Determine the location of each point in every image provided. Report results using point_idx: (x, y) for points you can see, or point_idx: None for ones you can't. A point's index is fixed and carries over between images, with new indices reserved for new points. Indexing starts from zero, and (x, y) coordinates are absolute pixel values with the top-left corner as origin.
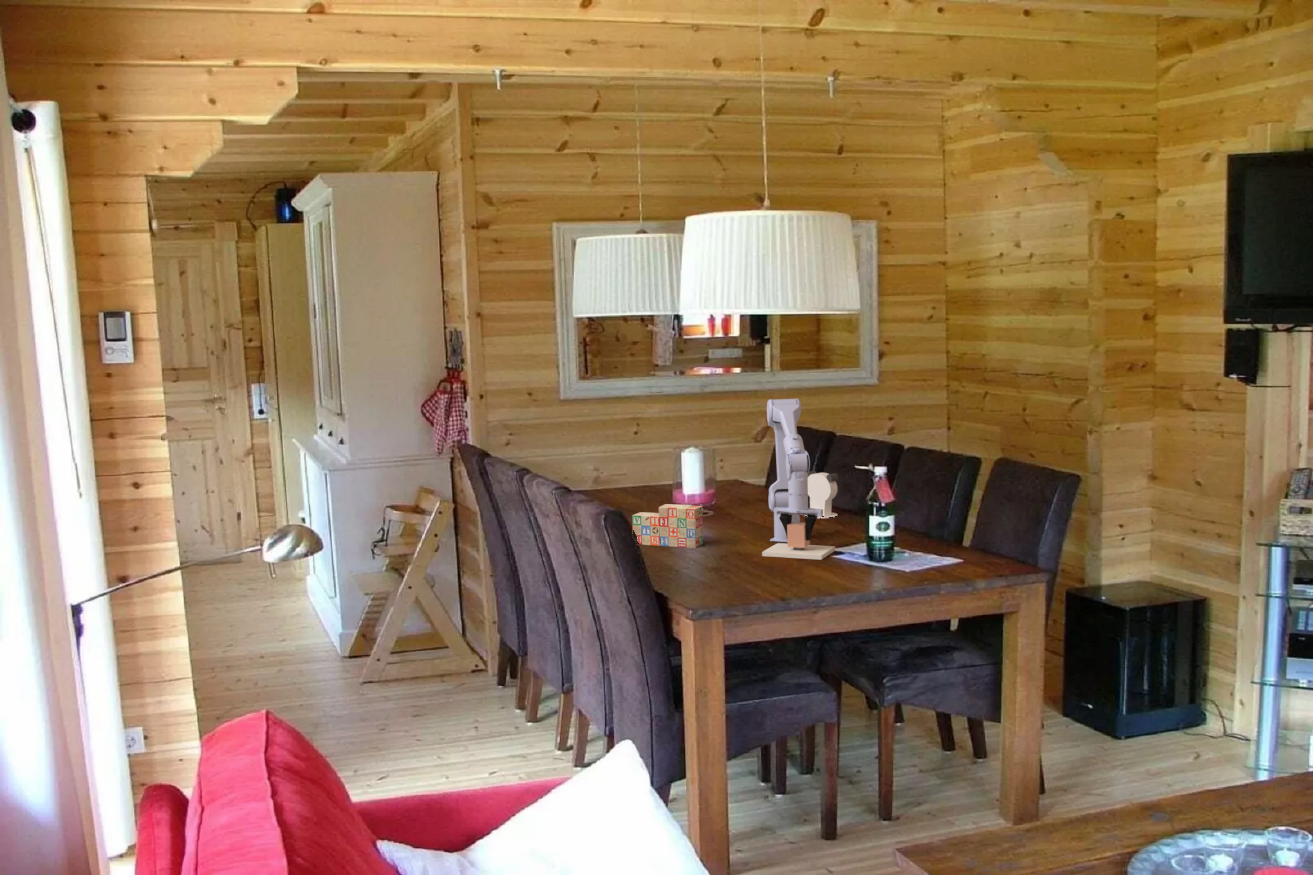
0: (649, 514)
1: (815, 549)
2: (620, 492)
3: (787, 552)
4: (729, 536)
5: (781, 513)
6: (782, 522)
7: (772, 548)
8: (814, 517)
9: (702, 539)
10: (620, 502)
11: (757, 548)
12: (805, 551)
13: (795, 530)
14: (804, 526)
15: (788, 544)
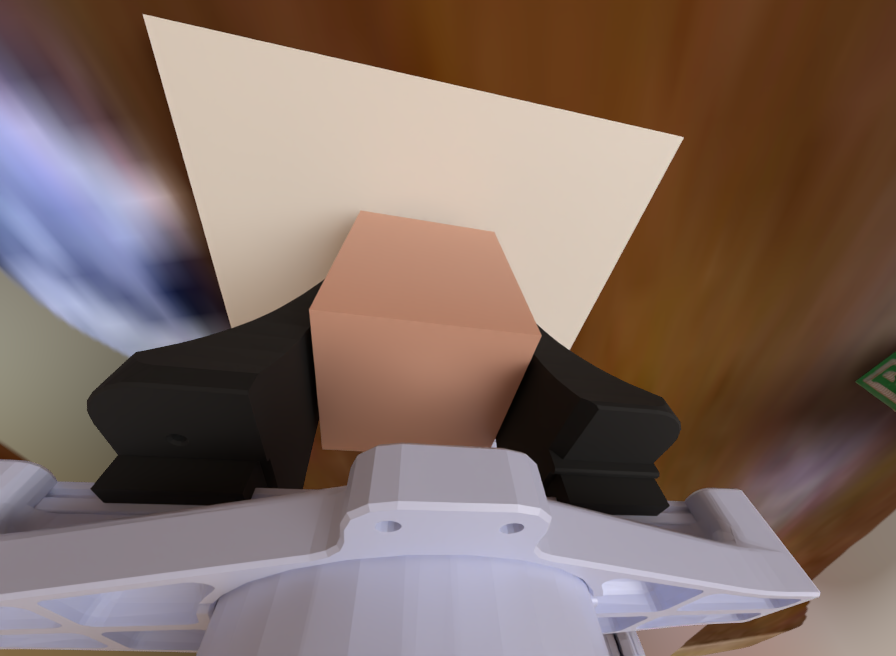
0: None
1: (314, 276)
2: (759, 628)
3: (486, 141)
4: (693, 477)
5: (654, 508)
6: (603, 375)
7: (587, 269)
8: (113, 443)
9: (881, 395)
10: (794, 607)
11: (641, 340)
12: (358, 202)
13: (434, 288)
14: (314, 313)
15: (489, 238)
